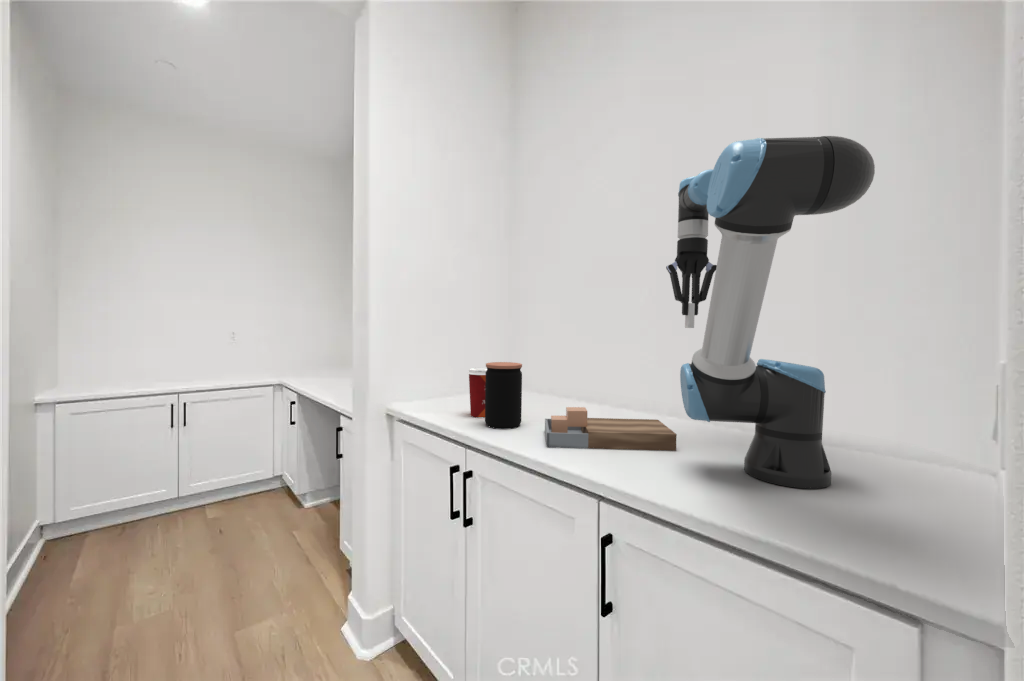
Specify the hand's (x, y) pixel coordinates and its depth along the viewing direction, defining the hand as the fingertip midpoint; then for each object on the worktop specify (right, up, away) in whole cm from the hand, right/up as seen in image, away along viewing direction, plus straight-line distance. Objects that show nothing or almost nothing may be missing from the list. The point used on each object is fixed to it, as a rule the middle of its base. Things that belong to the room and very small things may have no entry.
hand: (689, 327), depth 122 cm
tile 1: (-33, -26, -4) cm, 42 cm away
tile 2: (-31, -25, -4) cm, 40 cm away
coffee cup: (-58, -28, +24) cm, 68 cm away
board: (-18, -29, -4) cm, 35 cm away
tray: (-34, -29, -3) cm, 45 cm away
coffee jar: (-50, -28, +11) cm, 59 cm away
